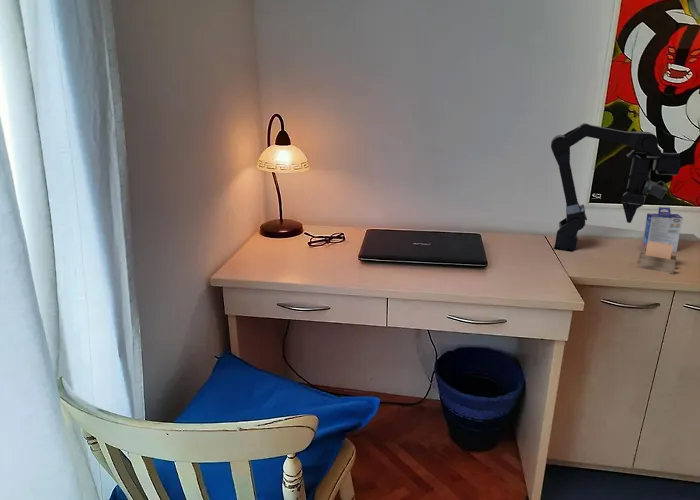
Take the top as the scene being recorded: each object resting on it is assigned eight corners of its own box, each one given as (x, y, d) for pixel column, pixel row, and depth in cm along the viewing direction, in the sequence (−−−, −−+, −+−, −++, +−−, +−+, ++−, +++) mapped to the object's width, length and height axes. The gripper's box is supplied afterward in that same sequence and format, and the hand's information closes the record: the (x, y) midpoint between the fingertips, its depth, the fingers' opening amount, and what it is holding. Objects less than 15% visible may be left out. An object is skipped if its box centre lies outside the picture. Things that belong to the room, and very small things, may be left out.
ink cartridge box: (671, 247, 187) (679, 207, 182) (677, 252, 182) (685, 211, 177) (640, 246, 189) (647, 206, 184) (645, 251, 184) (652, 210, 179)
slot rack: (636, 267, 168) (638, 258, 167) (639, 258, 176) (641, 250, 175) (673, 274, 163) (675, 265, 162) (674, 265, 171) (676, 256, 170)
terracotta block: (643, 263, 172) (647, 242, 170) (644, 261, 174) (648, 240, 172) (668, 267, 168) (673, 246, 166) (668, 265, 170) (673, 244, 168)
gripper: (667, 180, 160) (656, 230, 165) (670, 171, 175) (659, 217, 180) (626, 175, 165) (616, 224, 170) (632, 167, 180) (623, 212, 186)
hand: (630, 219), depth 177 cm, fingers open, 9 cm apart
